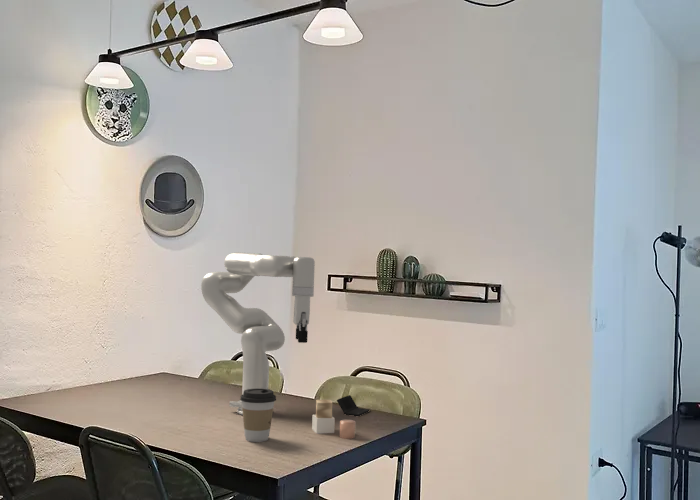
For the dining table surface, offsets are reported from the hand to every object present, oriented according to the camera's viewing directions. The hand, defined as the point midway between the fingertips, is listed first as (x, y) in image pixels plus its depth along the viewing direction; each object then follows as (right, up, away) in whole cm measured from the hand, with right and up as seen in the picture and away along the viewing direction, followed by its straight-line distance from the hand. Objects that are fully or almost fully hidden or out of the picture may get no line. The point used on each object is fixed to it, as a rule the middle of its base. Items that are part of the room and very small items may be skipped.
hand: (301, 340), depth 240 cm
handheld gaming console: (+18, -30, +18) cm, 39 cm away
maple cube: (+8, -24, -12) cm, 28 cm away
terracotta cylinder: (+16, -29, -19) cm, 38 cm away
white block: (+8, -29, -12) cm, 32 cm away
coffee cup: (-12, -28, -26) cm, 40 cm away
